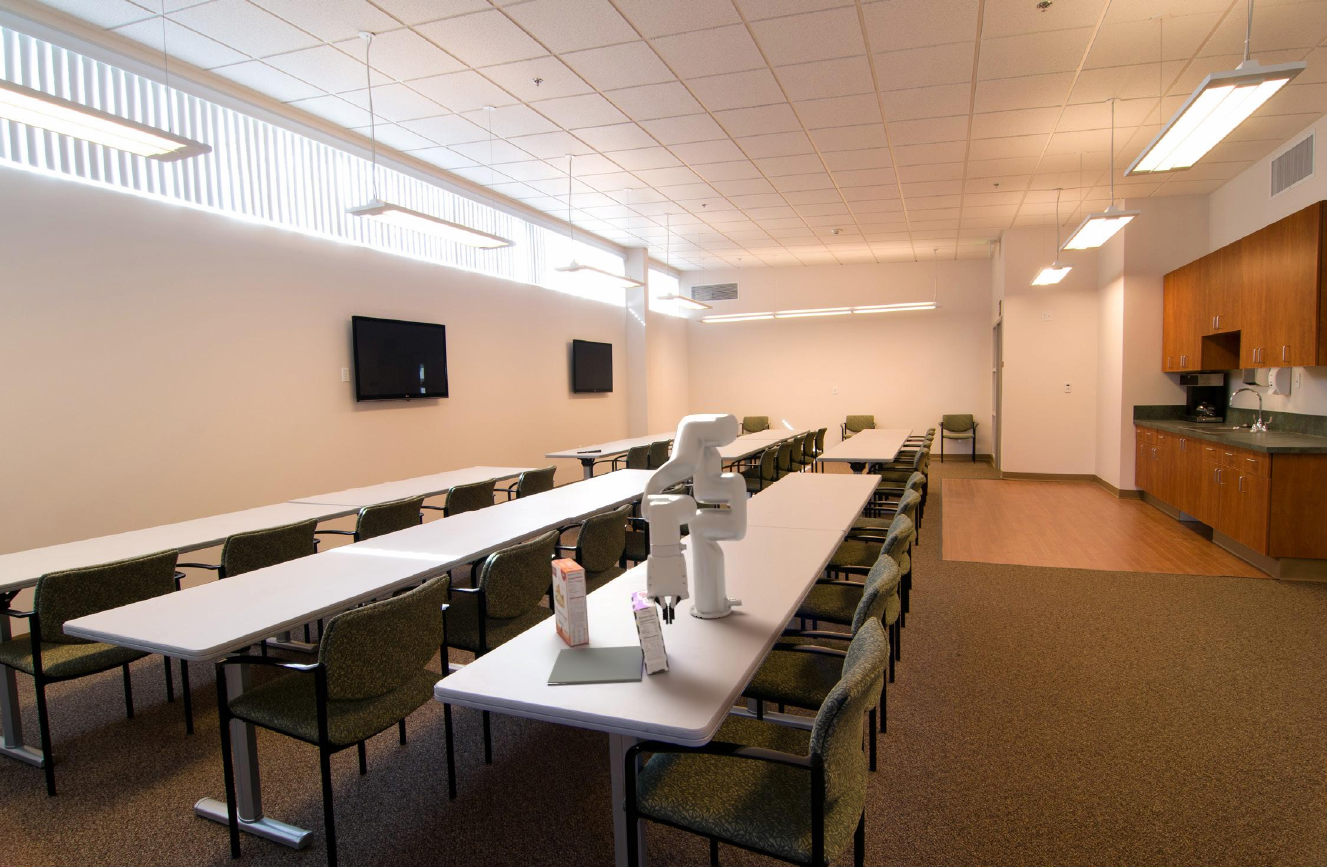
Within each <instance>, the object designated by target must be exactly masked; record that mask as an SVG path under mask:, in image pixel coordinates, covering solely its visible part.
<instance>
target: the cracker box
mask: <svg viewBox="0 0 1327 867" xmlns="http://www.w3.org/2000/svg"><path fill="white" fill-rule="evenodd" d="M551 571H552V574H551V575H552V589H553V600H554V601H553V602H554V604H553V605H554V616H555V629H556V632H557V634H559V635H560V637H561V638H562V639H563V640H564V641H565V643H566V644H567V645H568V647H575V646H580V645H584V644H589V643H590V636H589V622H588V621H589V619H588V603H587V602H588V601H587V587H586V586H587V585H586V570H585V568H583V567H582V566H581V565H579V564H578V563H577V562H576V561H574V560H573V559H572V558H570V557H567V558H562V559H554V560H552V561H551Z"/></svg>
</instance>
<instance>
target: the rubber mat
mask: <svg viewBox="0 0 1327 867" xmlns="http://www.w3.org/2000/svg"><path fill="white" fill-rule="evenodd" d="M643 662H644V659H643V655H642V650H641V645H633V646H632V645H631V646H608V647H588V648H587V647H586V648H583V647H582V648H563V649H562V648H561V649H560V650H559V653H558V655H557V657H556V660H555V662H554V665H553V668H552V669H551V670H552V671H551V673H550V675H549V678H548V680H547V682H546V683H582V684H599V683H600V684H601V683H603V684H604V683H622V682H623V683H625V682H626V683H627V682H628V683H629V682H641V681H642V671H643Z"/></svg>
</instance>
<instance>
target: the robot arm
mask: <svg viewBox="0 0 1327 867" xmlns="http://www.w3.org/2000/svg"><path fill="white" fill-rule="evenodd" d="M739 431H740V428H739V422H738V419H737V416H735V415H734V414H733V413H702V414H701V413H700V414H699V413H698V414H689V415H686V416H684V417H682V419H681V420H680V422H679V423H678V425H677V428H676V430H675V435H674V440H673V445H672V447H671V452H670V455H669V458H668V461H666V462H664V464H662V465H661V466H660V467H659V468H657V469H656V470H655V472H654V473H653V474H652V475H650V477H649V478H648V481H646V484H645V488H644V490H643V494H642V499H641V504H640V513H641V517H642V518H643V520H644V521H645V522H647V523H648V525H649V526H648V527H649V545H650V549H649V550H650V554H648V555H647V561H646V590H647V596H646V598H654V600H655V603H656V605H658V606H659V607H660V608H661V610H662V621H665V625H673V620H676V616H675V608H676V606H677V605H678V604H679V603H680V602H682V601H685V600H688V599H690V593H689V590H688V589H689V583H688V582H689V579H688V571H687V562H686V557H685V554H684V553H683V551H686V550H688V549H687V544H684V543H682V542H681V526H682V525H687V527H688V532H689V536H690V541H691V542H690V543H691V551H692V569H693V570H692V571H693V592H694V593H693V594H694V595H693V596H694V604H692V605H691V606H690V608H689V612H690V614H691V615H692V616H694V617H696V616H697V617H696V618H700V617H702V618H701V619H719V617H720V618H724V617H727V616H729V615H730V614H731V613H732V607H741V606H743V603H742V599H738V598H737V597H732V598H731V597H728V596H727V590H726V565H725V563H726V562H725V555H724V554H725V553H724V551H723V549H722V547H721V546H720V544H719V543H718V541H719V542H739V541H740V542H741V541H743V540H744V539H745V537H746V536H747V535H746V534H747V529H748V528H747V527H748V517H747V516H748V511H747V510H748V505H747V504H748V503H747V501H748V500H747V484H746V480H745V478H744V476H743V474H741V473H739V472H733V471H731V472H730V471H729V472H728V471H727V472H725V471H722V455H721V453H720V451H719V449H718V448H722V447H723V448H724V447H726V446H727V447H728V445H730V444H732V443H733V442H735V441H736V439H737V438H738V435H739ZM689 477H692V478H693V480H692V483H693V484H692V485H693V487H692V488H693V489H692V490H693V496H691V495H688V494H674V493H671V494H670V493H667V494H665V493H663V494H662V492H663V491H664V490H666V488H668V487H669V486H671V485H673V484H676V483H678V482H680V481H683V480H685V479H688V478H689ZM697 503H700V504H704V505H705V504H707V505H728V506H729V507H730V508H714V507H713V508H698V506H697ZM665 597H670V602H669V604H667V602H666V598H665Z"/></svg>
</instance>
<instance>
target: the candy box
mask: <svg viewBox="0 0 1327 867" xmlns="http://www.w3.org/2000/svg"><path fill="white" fill-rule="evenodd" d="M646 596H647V589H644V590H641V591H636V592H632V593H630V598H631V600H630V601H631V605H632V606H631V607H632V612H633V617H634V622H635V626H636V629H637V635H638V639H639V646H641V650H642V655H643V662H644V667H645V673H646V675H653V674H656V673H657V674H658V673H662V672H666V671H669V670H670V667H669V662H668V655H667V651H666V650H667V649H666V645H665V640H664V636H663V631H662V630H663V629H662V626H661V622H660V618H659V617H660V616H659V612H658V608H657V603H656V602H655V600H654V598H646Z"/></svg>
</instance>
